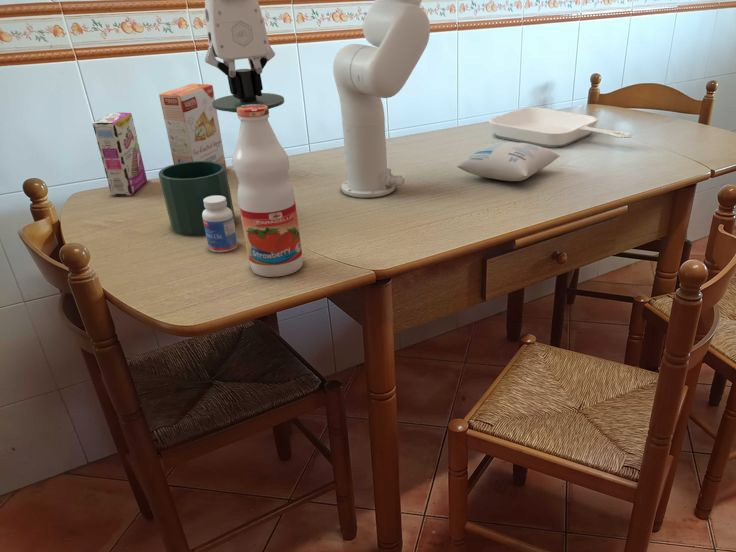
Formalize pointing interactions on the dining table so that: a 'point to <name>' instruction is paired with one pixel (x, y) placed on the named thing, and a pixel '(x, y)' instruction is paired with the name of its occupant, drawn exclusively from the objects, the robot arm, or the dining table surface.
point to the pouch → (508, 161)
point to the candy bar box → (120, 153)
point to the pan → (547, 127)
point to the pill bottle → (219, 224)
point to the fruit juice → (265, 196)
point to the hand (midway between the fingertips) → (247, 95)
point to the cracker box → (192, 124)
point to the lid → (247, 95)
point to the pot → (192, 193)
